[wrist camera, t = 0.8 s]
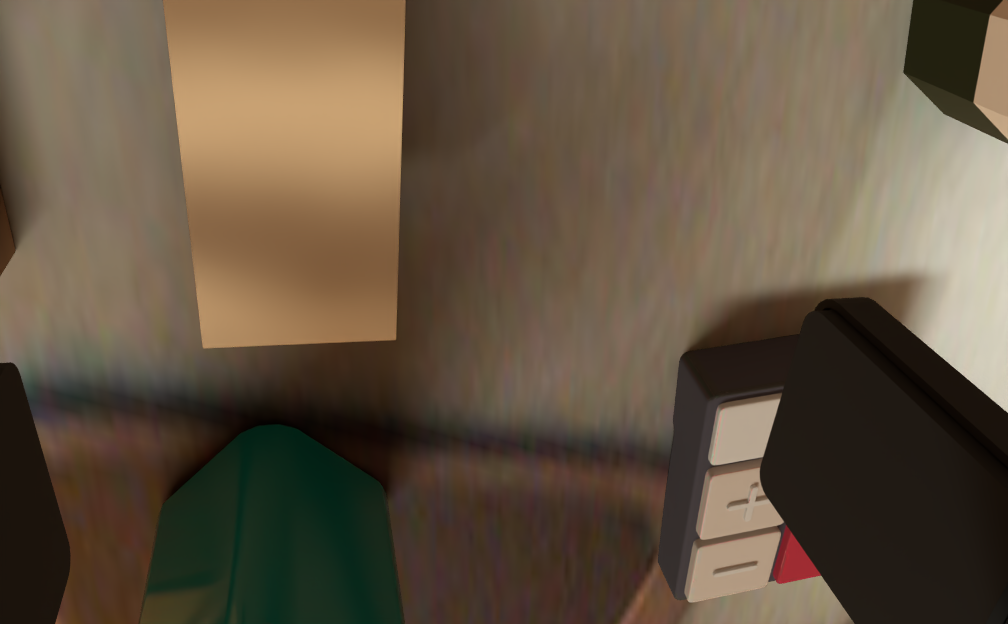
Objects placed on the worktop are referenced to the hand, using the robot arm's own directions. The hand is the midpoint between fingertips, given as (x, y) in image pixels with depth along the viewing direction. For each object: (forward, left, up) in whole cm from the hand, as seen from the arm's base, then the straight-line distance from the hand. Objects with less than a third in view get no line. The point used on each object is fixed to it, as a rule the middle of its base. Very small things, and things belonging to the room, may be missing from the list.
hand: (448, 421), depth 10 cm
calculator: (+21, +22, -22) cm, 38 cm away
